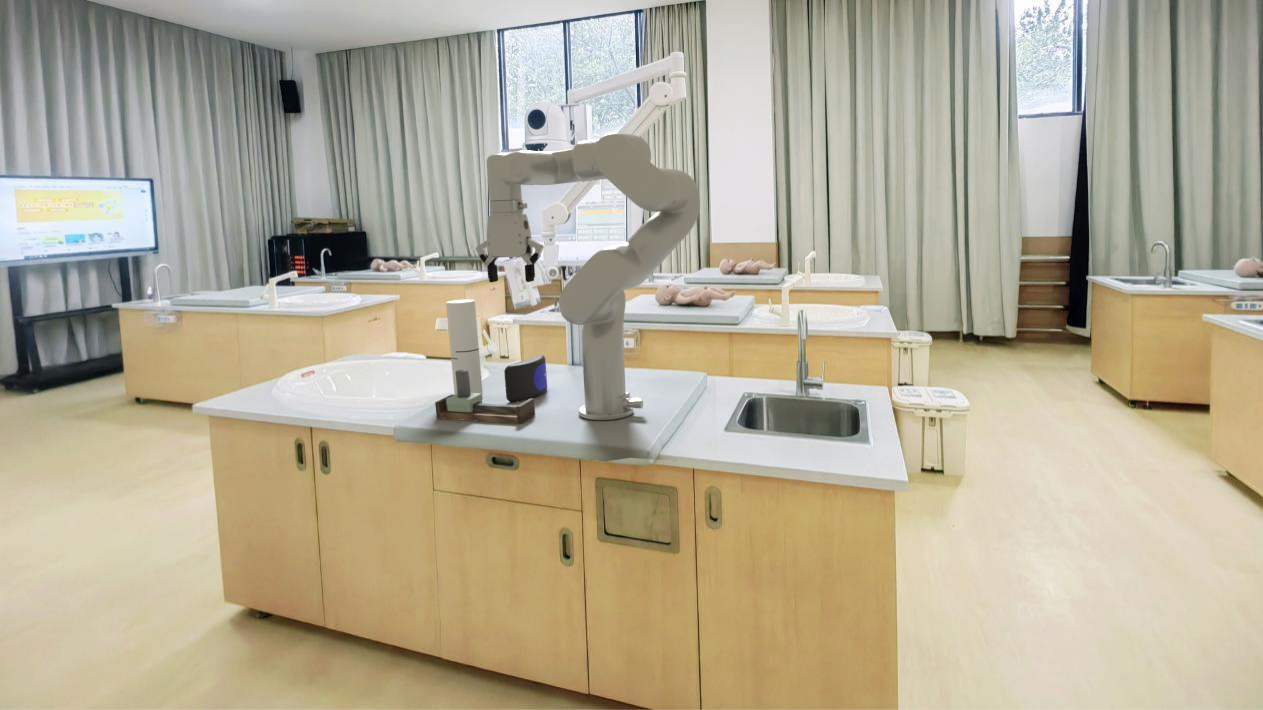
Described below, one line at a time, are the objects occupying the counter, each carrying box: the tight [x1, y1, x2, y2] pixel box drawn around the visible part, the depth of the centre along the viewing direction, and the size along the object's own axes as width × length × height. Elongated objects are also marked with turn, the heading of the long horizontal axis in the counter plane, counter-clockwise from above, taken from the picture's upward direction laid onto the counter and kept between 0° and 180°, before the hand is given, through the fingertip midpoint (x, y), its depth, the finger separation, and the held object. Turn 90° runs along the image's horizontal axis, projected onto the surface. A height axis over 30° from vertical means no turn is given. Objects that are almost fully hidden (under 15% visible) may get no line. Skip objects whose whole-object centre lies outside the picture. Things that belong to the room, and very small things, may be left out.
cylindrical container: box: [445, 299, 484, 396], centre depth 187 cm, size 7×7×25 cm
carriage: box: [446, 370, 483, 412], centre depth 170 cm, size 6×6×9 cm
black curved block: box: [503, 354, 548, 403], centre depth 187 cm, size 16×5×9 cm, turn 152°
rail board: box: [434, 394, 536, 425], centre depth 170 cm, size 22×7×4 cm, turn 72°
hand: (511, 281), depth 174 cm, fingers open, 9 cm apart
